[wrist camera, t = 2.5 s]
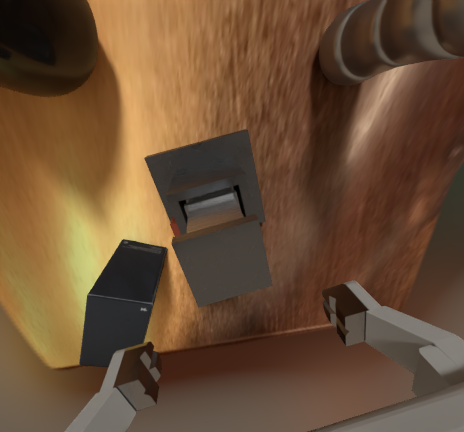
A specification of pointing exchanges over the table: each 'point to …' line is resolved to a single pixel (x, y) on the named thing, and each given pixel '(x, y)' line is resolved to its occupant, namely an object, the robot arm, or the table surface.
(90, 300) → the small box
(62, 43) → the pump dispenser
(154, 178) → the stand
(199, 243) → the column
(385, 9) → the plastic bottle
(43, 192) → the table surface
